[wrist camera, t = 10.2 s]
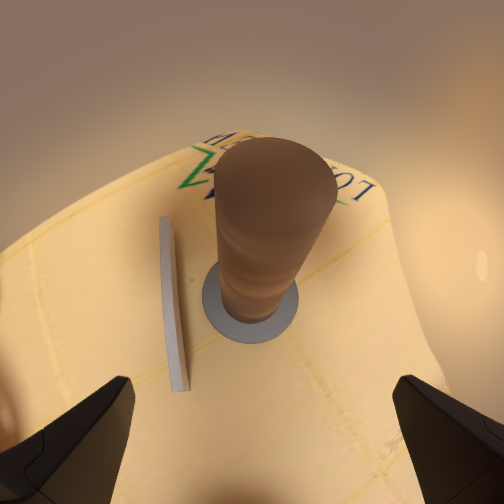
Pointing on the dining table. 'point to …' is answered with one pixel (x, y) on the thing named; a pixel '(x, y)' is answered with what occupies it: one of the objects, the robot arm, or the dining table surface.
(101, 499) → the robot arm
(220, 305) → the resting pad
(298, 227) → the pepper mill
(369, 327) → the dining table surface
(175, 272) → the low wall
